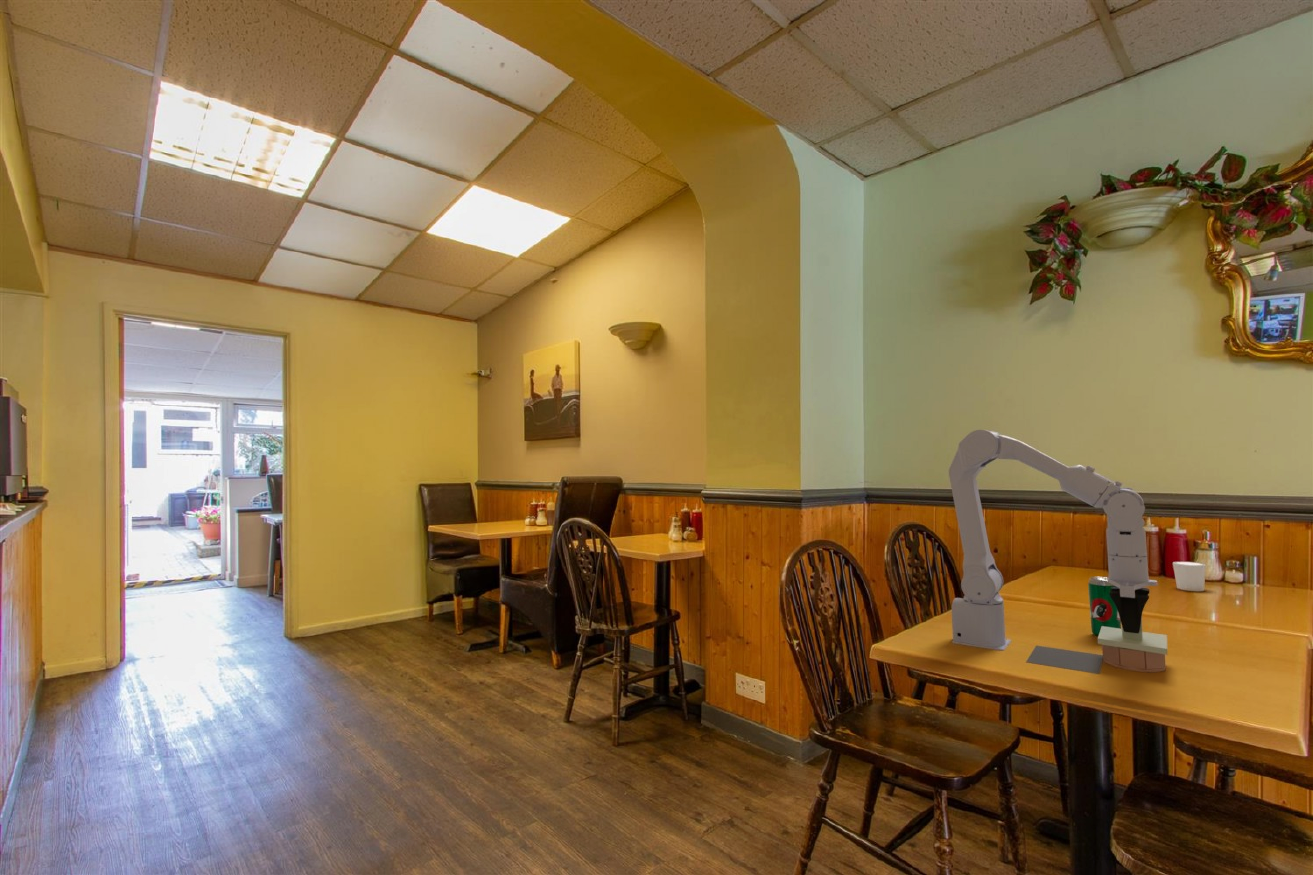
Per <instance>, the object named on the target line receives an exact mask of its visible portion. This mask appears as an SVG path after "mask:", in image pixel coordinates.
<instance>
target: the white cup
mask: <svg viewBox="0 0 1313 875" xmlns="http://www.w3.org/2000/svg"><path fill="white" fill-rule="evenodd" d="M1172 568H1173V572H1174V578H1175V583H1176V588H1177V589H1178V590H1181V591H1189V592H1203V591H1205V583H1206V582H1205V581H1206V580H1205V579H1206V564H1205V563H1201V562H1196V561H1195V562H1194V561H1173V562H1172Z"/></svg>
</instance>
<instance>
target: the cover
mask: <svg viewBox="0 0 1313 875" xmlns="http://www.w3.org/2000/svg"><path fill="white" fill-rule="evenodd" d="M1097 644H1098V645H1100V646H1102V645H1108V646H1114V647H1121V648H1127V649H1133V650H1140V651H1146V652H1153V653H1159V654H1165V656H1167V655H1168V635H1167V634H1162V633H1153V632H1147V631H1143V617H1142V618H1141V625H1140V630H1139V633H1130V632H1124V630H1123V627H1122V626H1121V629H1119V628H1112V627H1105V626H1102V627H1101V630H1100V633H1099V636H1097Z"/></svg>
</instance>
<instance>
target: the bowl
mask: <svg viewBox="0 0 1313 875" xmlns="http://www.w3.org/2000/svg"><path fill="white" fill-rule="evenodd" d="M1101 646H1102V647H1101V648H1102V655H1103V661H1104V662H1105V663H1106V664H1108V665H1110V666H1112V667H1115V668H1119V669H1122V670H1127V671H1133V672H1138V673H1139V672H1140V673H1161V672H1164V671H1165V670H1166V667H1167V666H1166V655H1165V654H1159V653H1153V652H1146V651H1140V650H1133V649H1127V648H1121V647H1114V646H1108V645H1101Z"/></svg>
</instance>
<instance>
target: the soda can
mask: <svg viewBox="0 0 1313 875" xmlns="http://www.w3.org/2000/svg"><path fill="white" fill-rule="evenodd" d="M1108 577H1109V576H1108ZM1108 577H1107V576H1091V577H1089V580H1088V583H1087V587H1088V588H1087V589H1088V590H1087V591H1088V599H1089V600H1088V601H1089V612H1090V615H1089V616H1090V624H1091V626H1090V627H1091V633H1092V635H1093V636H1095V637H1098V636H1099V633H1100V630H1101V627H1102V626H1105V627H1112V628H1119V629H1122V624H1121V620H1120V617H1119V613H1118V610H1117V608H1116V605H1115V603H1114V602H1113V600H1112V599H1111V597H1110V595H1109V591H1110V590H1111V587H1116V586H1114V585H1113V584H1111V583H1109V582H1108ZM1111 591H1112V590H1111Z"/></svg>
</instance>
